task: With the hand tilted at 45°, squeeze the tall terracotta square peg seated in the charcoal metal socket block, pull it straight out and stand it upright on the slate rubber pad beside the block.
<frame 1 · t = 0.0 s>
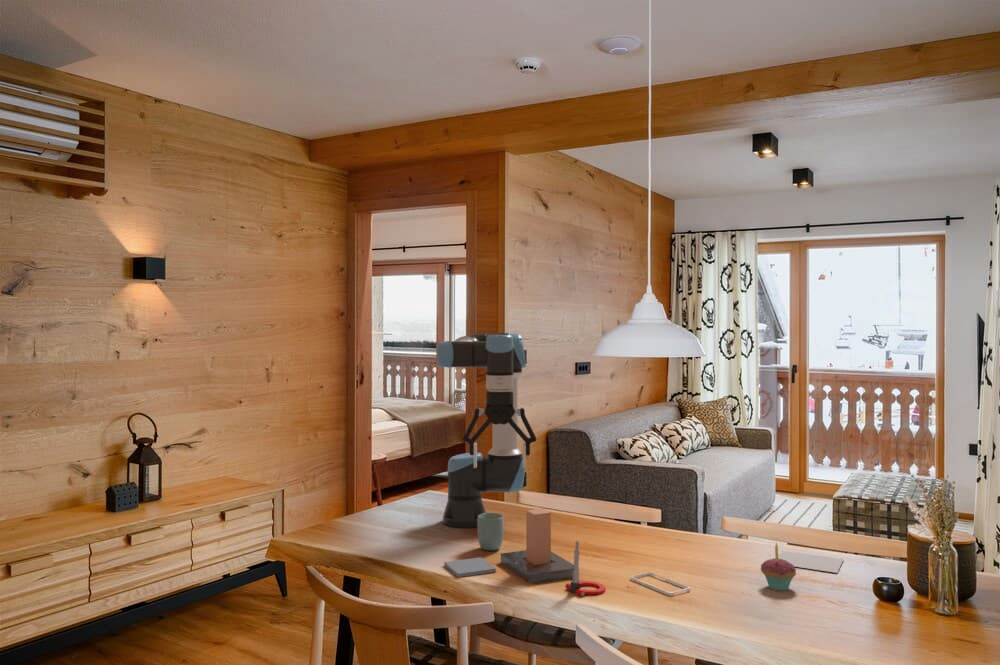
hand: (499, 467, 210), 28 cm above the table, tool pointing down, fingers open, 13 cm apart
socket block: (538, 569, 209), on the table
tow hook: (587, 591, 192), on the table
paper stack: (826, 562, 216), on the table
pad: (469, 568, 209), on the table
cup: (490, 549, 228), on the table
peg: (538, 540, 209), in the socket block
phone case: (659, 587, 196), on the table
cupcake: (778, 588, 194), on the table
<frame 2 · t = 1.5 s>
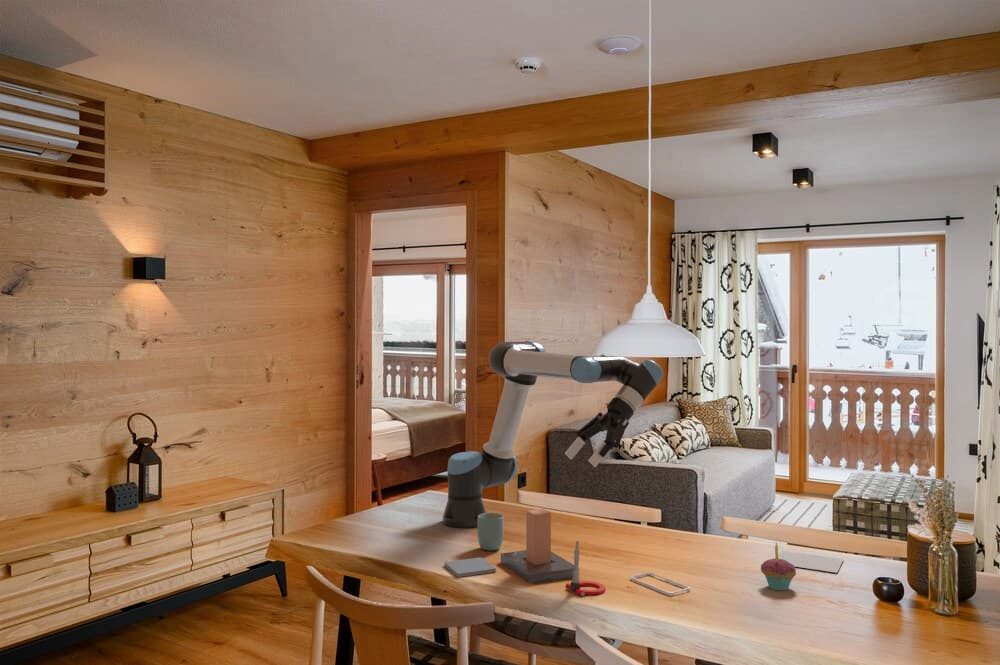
hand: (579, 460, 215), 29 cm above the table, tool tilted 45°, fingers open, 13 cm apart
nothing on the table moved.
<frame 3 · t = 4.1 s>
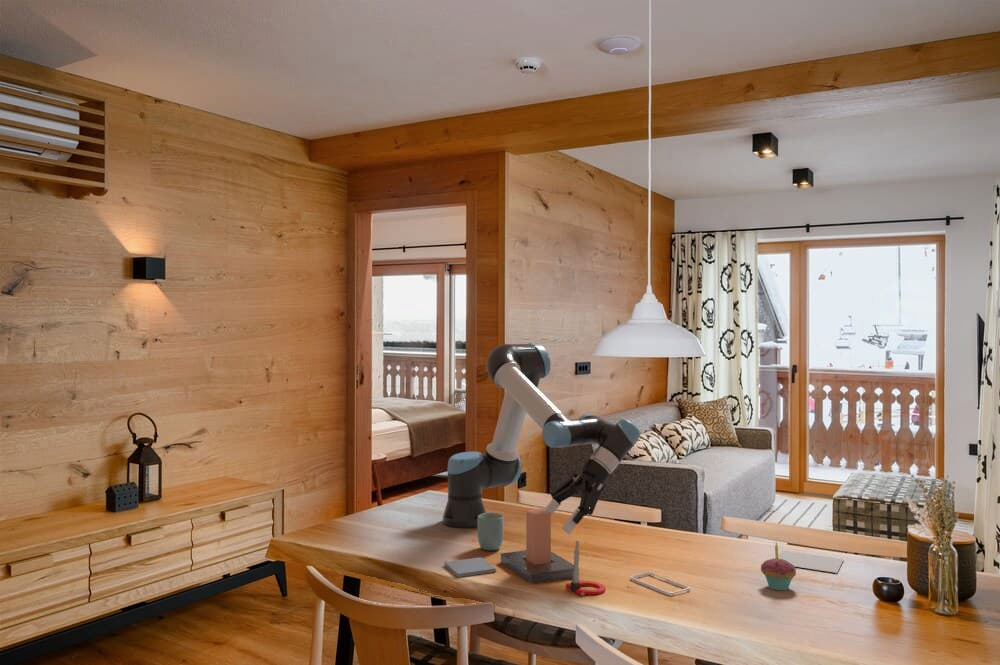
hand: (553, 525, 209), 12 cm above the table, tool tilted 45°, fingers open, 13 cm apart
nothing on the table moved.
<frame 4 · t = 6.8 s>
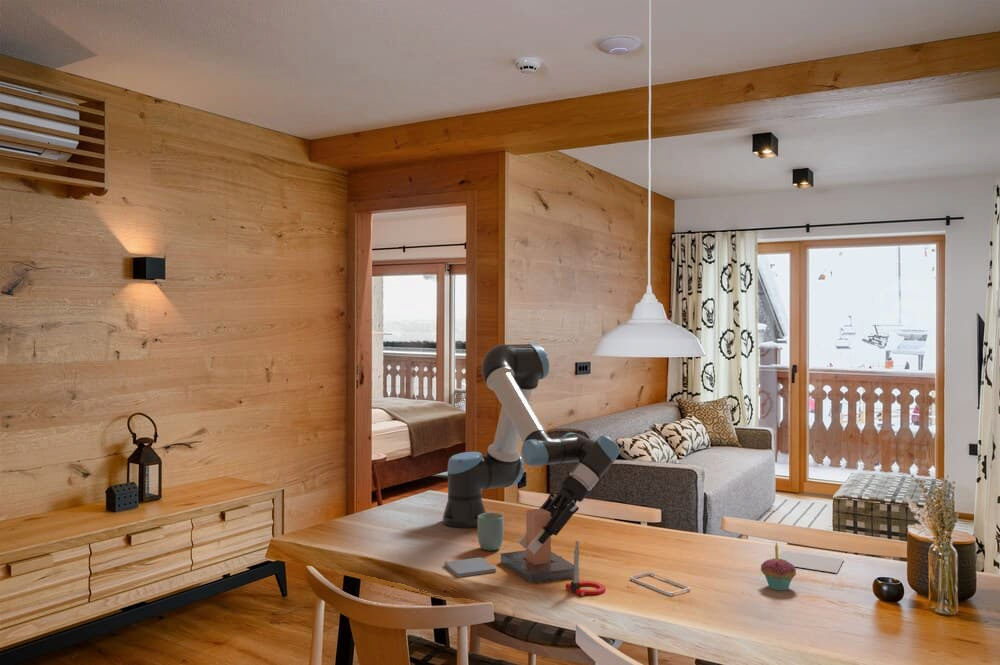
hand: (526, 548, 207), 6 cm above the table, tool tilted 45°, fingers closed on peg, 5 cm apart
peg: (538, 540, 209), in the socket block, touching gripper
everything else where it was.
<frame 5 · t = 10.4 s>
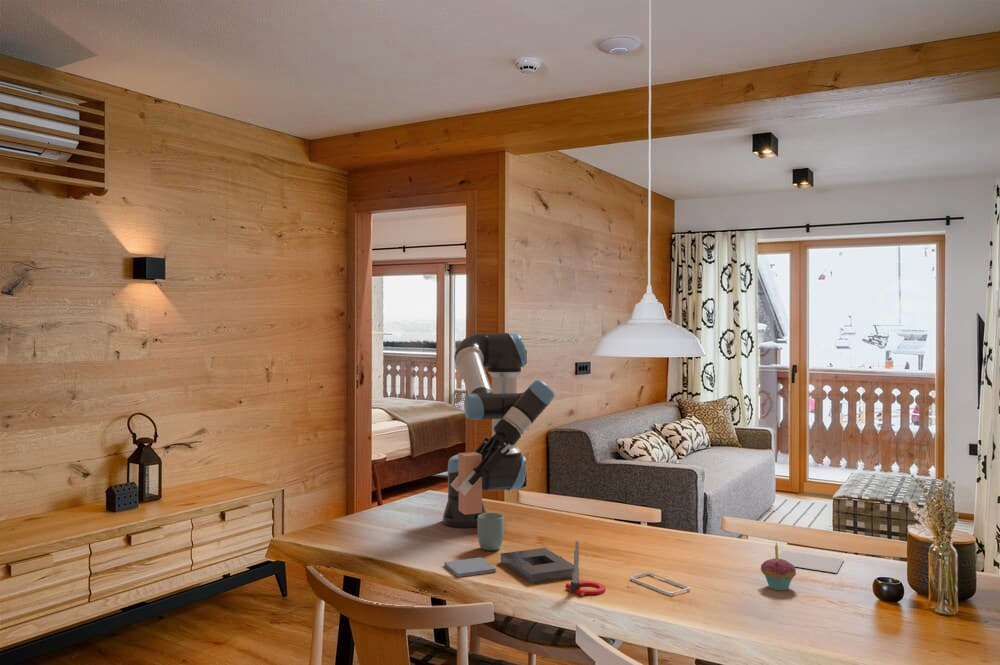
hand: (457, 490, 208), 22 cm above the table, tool tilted 45°, fingers closed on peg, 5 cm apart
peg: (470, 482, 209), point 24 cm above the table, touching gripper
everything else where it was.
when the fingers open (9 cm above the table, at t = 14.2 s): peg drops 1 cm, resting on pad.
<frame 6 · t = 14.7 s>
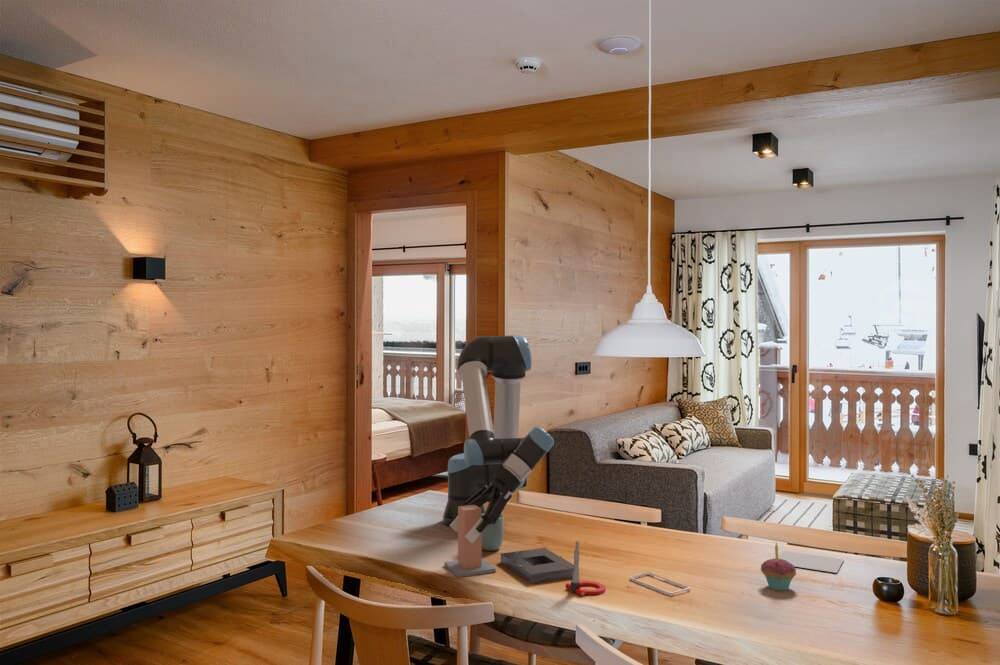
hand: (460, 534, 208), 10 cm above the table, tool tilted 45°, fingers open, 11 cm apart
peg: (469, 536, 209), on the pad, point 9 cm above the table
everything else where it was.
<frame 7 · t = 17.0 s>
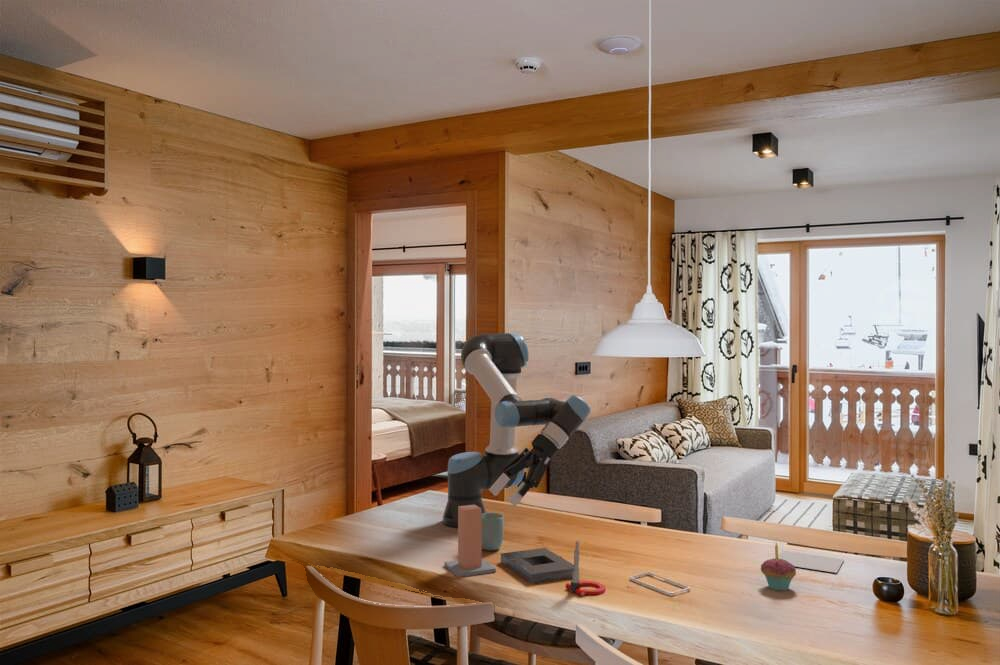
hand: (501, 498, 213), 19 cm above the table, tool tilted 45°, fingers open, 13 cm apart
nothing on the table moved.
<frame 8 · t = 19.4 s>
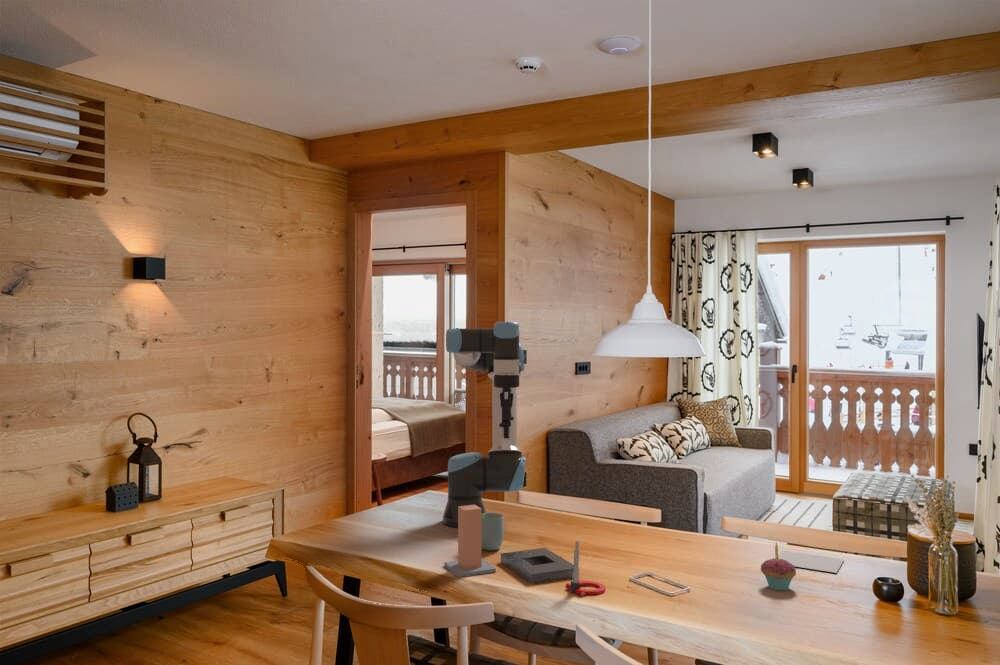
hand: (506, 445, 224), 32 cm above the table, tool pointing down, fingers open, 13 cm apart
nothing on the table moved.
at the end: peg inside the target area on the pad (0.0 cm from its centre), point 9.0 cm above the pad's base; peg tilted 0°; the gripper is holding nothing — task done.
